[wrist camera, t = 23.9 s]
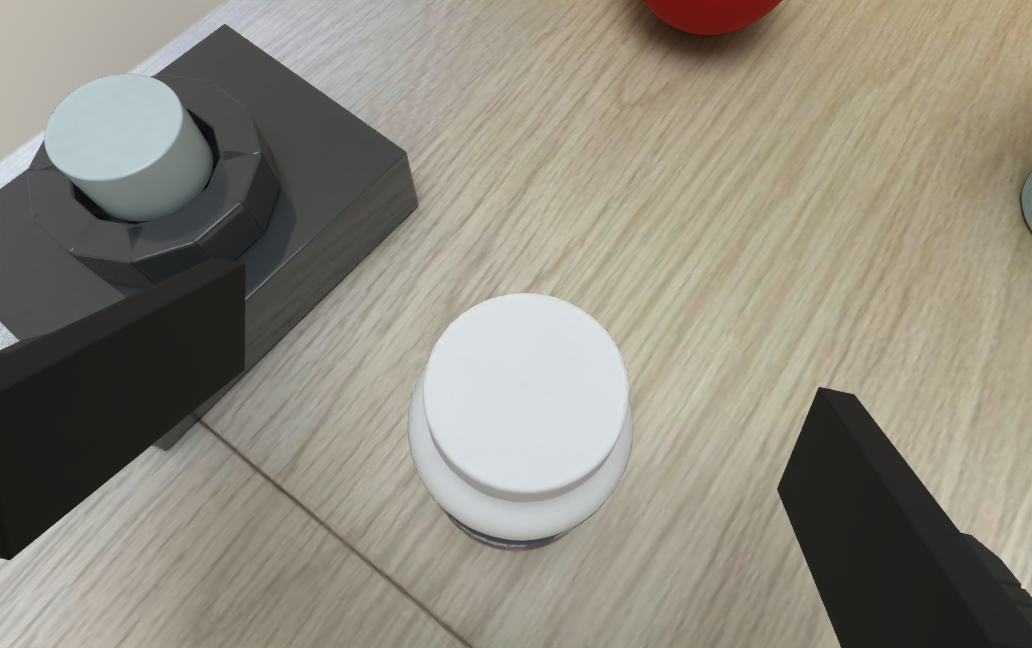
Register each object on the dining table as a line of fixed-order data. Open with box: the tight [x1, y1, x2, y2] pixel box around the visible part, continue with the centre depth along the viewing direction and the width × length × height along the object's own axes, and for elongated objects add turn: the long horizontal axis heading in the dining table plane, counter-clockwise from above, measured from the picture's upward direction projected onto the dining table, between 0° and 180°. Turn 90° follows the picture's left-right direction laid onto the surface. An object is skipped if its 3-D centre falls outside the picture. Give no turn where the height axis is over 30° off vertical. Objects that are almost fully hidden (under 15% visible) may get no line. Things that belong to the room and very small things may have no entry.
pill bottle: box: [408, 293, 633, 551], centre depth 16 cm, size 5×5×9 cm
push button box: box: [0, 24, 418, 451], centre depth 21 cm, size 12×9×5 cm
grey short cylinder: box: [44, 74, 213, 221], centre depth 18 cm, size 4×4×2 cm
